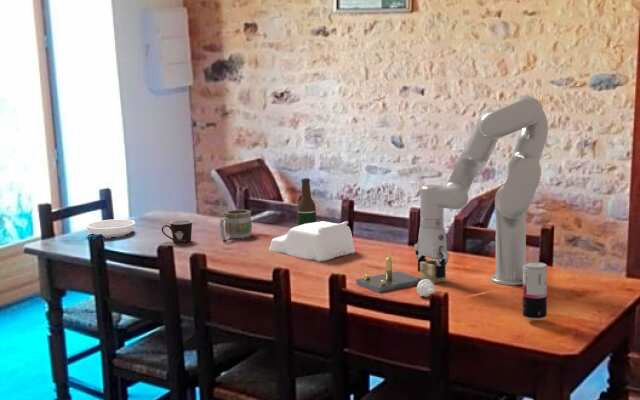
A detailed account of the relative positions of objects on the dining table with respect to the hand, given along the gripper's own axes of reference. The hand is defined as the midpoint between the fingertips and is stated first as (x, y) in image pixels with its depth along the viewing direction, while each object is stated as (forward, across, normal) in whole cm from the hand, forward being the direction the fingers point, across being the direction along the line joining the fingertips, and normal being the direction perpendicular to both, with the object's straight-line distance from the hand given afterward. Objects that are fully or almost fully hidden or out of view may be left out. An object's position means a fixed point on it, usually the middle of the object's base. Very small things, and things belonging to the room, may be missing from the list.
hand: (431, 274), depth 297 cm
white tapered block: (+4, +57, +12) cm, 58 cm away
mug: (+4, +95, +26) cm, 98 cm away
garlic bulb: (+2, -15, +13) cm, 20 cm away
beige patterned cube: (+2, 0, 0) cm, 2 cm away
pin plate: (+2, +5, +14) cm, 14 cm away
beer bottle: (+3, +85, -2) cm, 85 cm away
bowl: (+5, +131, +64) cm, 146 cm away
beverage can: (+2, -48, +1) cm, 49 cm away
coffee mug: (+4, +102, +46) cm, 112 cm away
